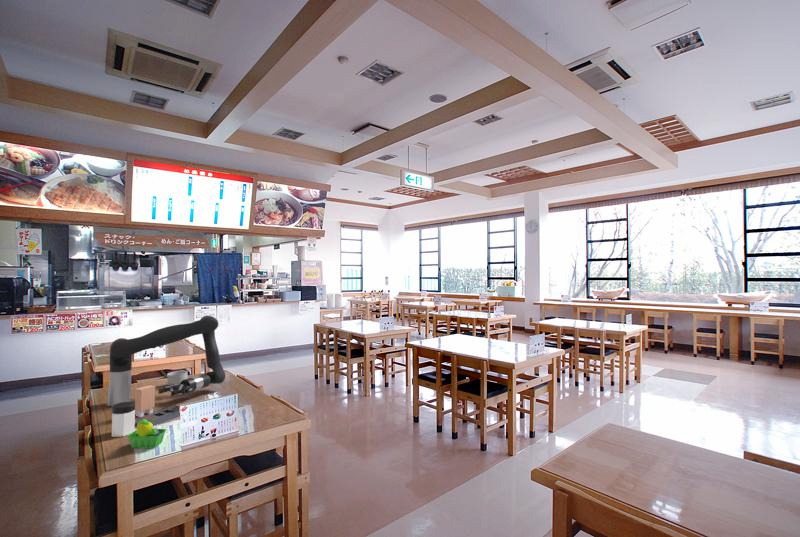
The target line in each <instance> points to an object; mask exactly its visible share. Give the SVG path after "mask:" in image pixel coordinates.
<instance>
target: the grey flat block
mask: <svg viewBox="0 0 800 537" xmlns="http://www.w3.org/2000/svg"><path fill="white" fill-rule="evenodd" d="M179 406H180V405H175V404H174V405H172V406H168V407H166V408H163V409H160V410H157V411H155V412H154V411H153V413H151V414H147V415H146V414H144V416H143V417H137V418H135V425H136V424H138V423H139V422H140V421H142V420H143V419H145V420H147V421H148V422H150V423H152V424H153V427H155V426H158V425H160V423H161V424H164V423H165V422H169V421H172V420H174V419H175V418H178V417H179V418H180V417H181V416H180V413H179ZM157 424H158V425H157ZM154 425H155V426H154Z"/></svg>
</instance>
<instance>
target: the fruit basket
mask: <svg viewBox="0 0 800 537" xmlns="http://www.w3.org/2000/svg"><path fill="white" fill-rule="evenodd" d="M153 427H154V426H153V424H152V423H150V422H148V421H147V420H145V419H143V420H142V421H140V422H139V423H138V424H137V425H136V430H134V432H133V433H131V434H129V435H127V438H128V439H129V444H130V446H131V449H132V448H133V449H134V448H135V449H136V448H138V449H155V448H157V447H158V446H159V445H161V444H162V443H163V440H164V438H165V433H166V431H167V429H166V428H153ZM161 442H162V443H161ZM157 445H158V446H157ZM156 446H157V447H156ZM149 447H151V448H149ZM154 447H155V448H154Z"/></svg>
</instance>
